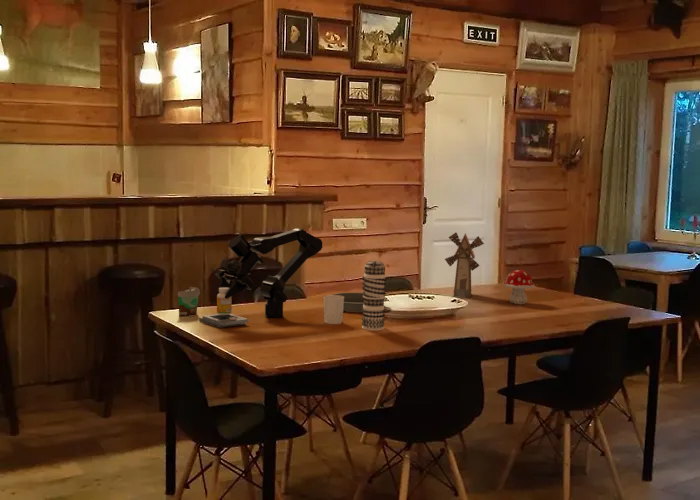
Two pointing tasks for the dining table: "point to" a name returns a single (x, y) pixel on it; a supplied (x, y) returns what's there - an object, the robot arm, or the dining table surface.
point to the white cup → (333, 309)
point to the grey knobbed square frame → (223, 320)
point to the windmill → (463, 264)
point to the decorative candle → (373, 295)
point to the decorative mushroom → (518, 286)
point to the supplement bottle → (224, 302)
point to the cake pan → (353, 301)
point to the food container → (188, 301)
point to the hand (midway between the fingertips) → (221, 296)
